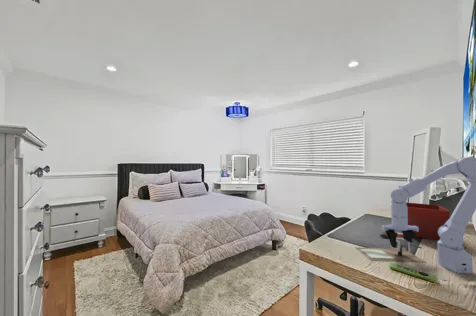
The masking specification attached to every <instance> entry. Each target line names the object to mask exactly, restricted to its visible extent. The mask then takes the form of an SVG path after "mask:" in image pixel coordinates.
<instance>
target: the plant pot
mask: <svg viewBox="0 0 476 316" xmlns="http://www.w3.org/2000/svg"><path fill="white" fill-rule="evenodd" d="M406 205H407V212H408V225H410V226H417V227H419V231H413V232H415V233H416V235H415V236H414V238H421V239H422V238H423V239H428V240H429V239H430V240H436V241H439V240H440V236H439V235H438V229H439V228H440V227H441V226H443V225H444V224H445V223H446V221H448V220H449V219H450V214H451V211H450V210H449V209H447V208H445V207H443V206H441V205H439V204H430V203H429V204H428V203H416V202H406Z"/></svg>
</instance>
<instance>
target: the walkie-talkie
mask: <svg viewBox="0 0 476 316" xmlns="http://www.w3.org/2000/svg"><path fill="white" fill-rule="evenodd" d="M396 233H397V238H403V233H401V232H400V231H399V232H398V231H397V232H396ZM379 237H382V238H383V239H385V240H389V238H388V236H387V234H386V232H385V231H383V232H382V234H379ZM403 239H404V238H403ZM412 242H413V240H412V241H411V244H410V247H411V246H412V247H415V248H418V249H422V246H418V245H416V244H412Z"/></svg>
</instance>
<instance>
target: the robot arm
mask: <svg viewBox="0 0 476 316" xmlns="http://www.w3.org/2000/svg"><path fill="white" fill-rule="evenodd" d="M457 174H458V175H459V174H461V175H462V176H464V178H465V179H466V180H467V182H468V185H467V188H466V189H465V191H464V192H463V194H462V196H461V197H460V199H459V201H458V202H457V205H456V207H455V208H454V210H453V212H452V214H451V215H450V216H449V219H448V221H446V223H445V224H444V225H443V226H441V227H440V228H439V229H438V235H439V236H440V240H437V263H438V265H439V266H442V267H444V268H446V269H448V270H449V271H450V270H451V271H452V272H454V273H459V274H460V273H461V274H473V273H474V272H473V271H474V269H473V267H474V266H473V257H472V255H471V253H469V252H467V251H466V250H465V249H464V246H463V244H464V235H465V233H466V227H467V226H468V224H469V222H470V221H471V219H472V217H473V215H474V214H475V212H476V157H475V156H468V157H467V156H466V157H460V158H457V160H453V161H451V162H448V163H446V164H444V165H442V166H439V168H437V169H436V170H434V171H432V172H430V173H429V174H427V175H426V176H423V177H422V178H417V177H415V178H409V179H408V181H407V182H406V183H404V184H402V185H398V186H397V188H395V189H393V190H391V193H390V198H391V201H390V202H391V206H390V208H391V209H390V210H391V212H390V213H391V214H390V215H391V217H390V218H391V224H383V225H381V226H380V228H381V230H382V231H383V232H386V234H387V236H388V238H389V239H388V240H389V242H390V243H391V246H392V247H393V248H396V238H397V233H398V231H399V232H400V231H401V232H402V234H403V238H404V239H405V240H407V241H409V242H410V244H412V242H413V239H414V238H415V235H416V233H415V232H413V231H419V227H417V226H410V225H408V212H407V205H406V203H407V201H408V198H413V197H414V196H416V195H419V194H420V193H422V192H424V191H426V190H427V187H428V185H430V184H432V183H434V182H435V181H438V180H440V179H442V178H444V177H447V176H448V175H457ZM396 231H397V232H396ZM411 241H412V242H411ZM390 243H389V244H390ZM392 247H391V248H392Z"/></svg>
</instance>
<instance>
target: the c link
mask: <svg viewBox="0 0 476 316" xmlns="http://www.w3.org/2000/svg"><path fill="white" fill-rule="evenodd" d="M389 246H390V247H391V248H393V247H392V246H391V243H389ZM390 247H389V248H390ZM400 247H401V248H402V249H404V250H406V251H408V252H410V253H411V245H410V242H409V241H407V240H405V239H403V238H396V248H393V249H395V250H397V251H400Z"/></svg>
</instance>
